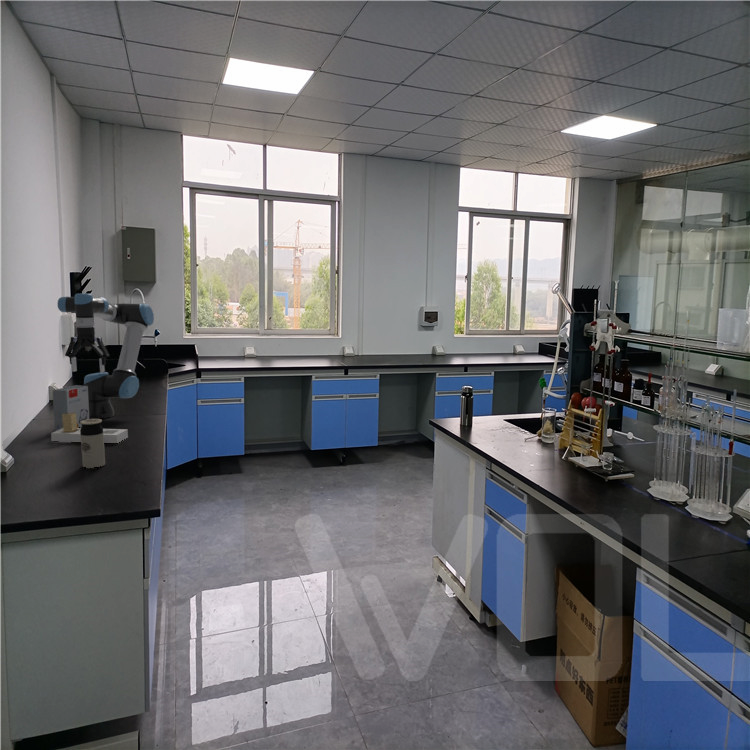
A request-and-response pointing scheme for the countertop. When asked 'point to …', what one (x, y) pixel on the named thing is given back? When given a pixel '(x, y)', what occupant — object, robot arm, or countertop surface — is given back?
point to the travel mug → (92, 443)
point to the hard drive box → (70, 404)
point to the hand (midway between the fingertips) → (88, 371)
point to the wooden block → (69, 422)
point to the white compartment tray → (62, 436)
